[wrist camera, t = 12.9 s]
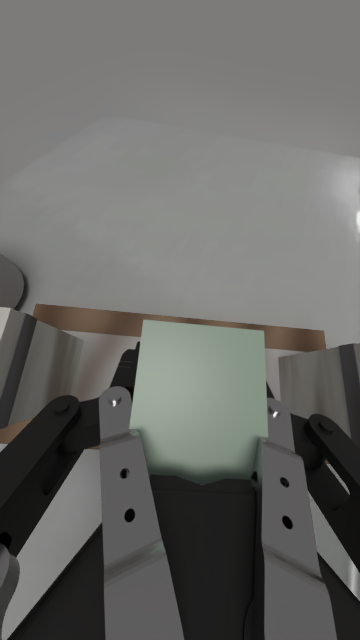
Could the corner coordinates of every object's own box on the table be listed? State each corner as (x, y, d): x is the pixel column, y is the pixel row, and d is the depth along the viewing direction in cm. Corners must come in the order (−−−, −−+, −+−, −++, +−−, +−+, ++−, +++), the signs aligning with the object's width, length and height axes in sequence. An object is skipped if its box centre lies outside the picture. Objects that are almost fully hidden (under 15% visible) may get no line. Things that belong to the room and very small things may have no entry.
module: (213, 353, 17) (265, 329, 8) (211, 426, 16) (271, 489, 7) (153, 348, 17) (142, 318, 8) (144, 422, 15) (120, 481, 7)
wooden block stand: (315, 333, 22) (452, 293, 12) (329, 459, 19) (536, 562, 8) (43, 307, 21) (-82, 236, 10) (7, 438, 18) (-232, 532, 7)
